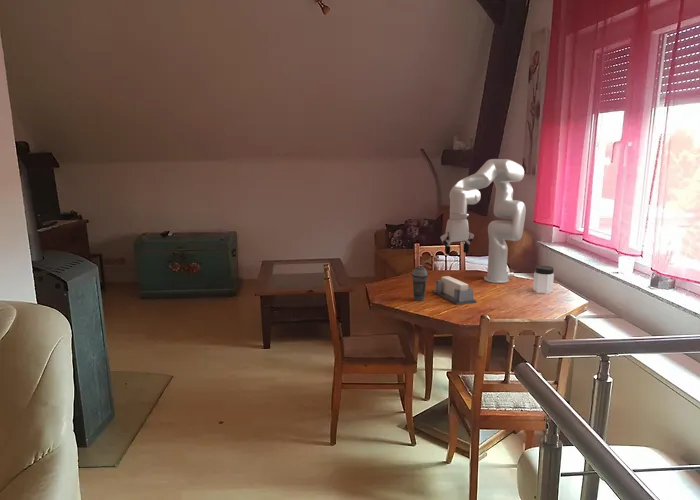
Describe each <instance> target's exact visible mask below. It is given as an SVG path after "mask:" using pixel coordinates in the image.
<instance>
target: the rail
mask: <svg viewBox="0 0 700 500" xmlns="http://www.w3.org/2000/svg"><path fill="white" fill-rule="evenodd" d="M440 278H441V279H440V280H441V282H442V292H444V293H446V294H448V295H450V296H452V297H454V289H458V290H468V288H469V284H468V283H466V282H463V281H462V280H459V279H456V278H454V277H451V276H449V275H447V276H446V275H445V276H441V277H440Z"/></svg>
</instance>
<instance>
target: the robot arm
mask: <svg viewBox="0 0 700 500" xmlns="http://www.w3.org/2000/svg"><path fill="white" fill-rule="evenodd" d="M524 177H525V170H524V167H523V166H522V164H519V163H518V162H516V161H514V160H512V159H508V158H507V159H505V158H491V159H490V158H489V159H487V160H486V161H485V162H484V164H482V166H481V167H480V168H479V169H478V170H477V171H476V172H475V173H474V174H471V175H468V176H466V177H464V178H462V179H460V180H458V181H457V182H456V183H455V184H454V185H453V186H452V188H451V190H449V191H450V192H449V195H448V197H449V219H447V221H446V227H445V233H444V234H442V235H441V236H440V237H439V238H440V240H441V243H442V244H443V245H444V254H445V255H448V256H450V255H451V244H452V243H455V242H456V243H457V242H463V250H462V251H463V253H466V254H469V250H470V245H471V243H472V242H473V239H474V237H475V234H474V233H472V232H470V229H469V220H468V219H467V217H469V216H470V215H469V213H467V212H468V205H476V204H478V203H479V202H480V201H481V198H482V197H481V191H479V190H481V189H484V188H487V187H488V186H490V184H492V183H493V184H494V186H495V197H494V204H493V214H494V216H495V217H497V218H501V220H499V219H498V220H493V221H490V223H489V224H488V226H487V233H488V234H487V235H488V257H487V258H488V259H487V275H485V276H484V277H483V280H484V281H486V282H488V283H493V284H504V283H505V284H506V283H508V282H510V278H509V277H514V276H515V273H514V272H512V271H511V272H509V271H508V270H507V269H508V268H507V266H508V256H509V255H508V251H509V248H508V244H507V242H506V241H513V242H516V241H517V242H518V241H520V240H521V239H522V237H523V233H524V228H525V220H526V212H527V210H526V209H527V208H526V204H525V203H524V202H523V201H522V200H517V199H513V196H514V189H513V186H512V184H511V183H519V182H521V181H522V180H523V179H524ZM510 182H511V183H510ZM502 219H511V220H512V221H509V220H502Z"/></svg>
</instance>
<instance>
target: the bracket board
mask: <svg viewBox="0 0 700 500" xmlns="http://www.w3.org/2000/svg"><path fill="white" fill-rule="evenodd" d="M474 292H475V291H474V289H472V288H471V287H468V290H458V289H454V297H452V296H450V295H448V294H446V293H444V292H442V282H441V279H437V280H435V289H432V293H433V294H435V295H436V296H438V297H441V298H443V299H444V300H446V301H448V302H451V303H453V304H454V303H455V305H459V306H460V305H468V304H476V303H477V299H474Z"/></svg>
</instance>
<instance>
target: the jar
mask: <svg viewBox="0 0 700 500" xmlns="http://www.w3.org/2000/svg"><path fill="white" fill-rule="evenodd" d="M533 273H534V275H533V290H532V291H534V292H535V293H537V294H545V295H546V294H547V295H549V294H552V293H553V291H554V280H555V279H554V278H555V273H554V267H553V266H550V265H549V266H548V265H537V266H535V271H534V272H533Z"/></svg>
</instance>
